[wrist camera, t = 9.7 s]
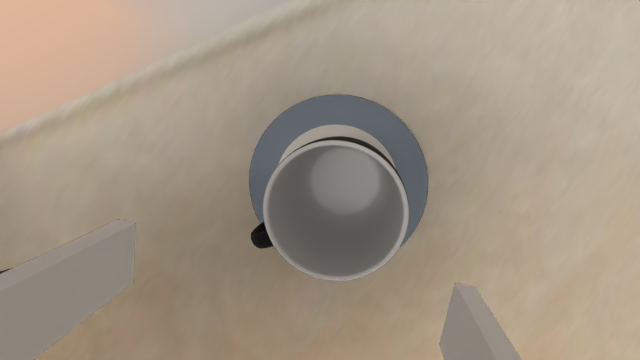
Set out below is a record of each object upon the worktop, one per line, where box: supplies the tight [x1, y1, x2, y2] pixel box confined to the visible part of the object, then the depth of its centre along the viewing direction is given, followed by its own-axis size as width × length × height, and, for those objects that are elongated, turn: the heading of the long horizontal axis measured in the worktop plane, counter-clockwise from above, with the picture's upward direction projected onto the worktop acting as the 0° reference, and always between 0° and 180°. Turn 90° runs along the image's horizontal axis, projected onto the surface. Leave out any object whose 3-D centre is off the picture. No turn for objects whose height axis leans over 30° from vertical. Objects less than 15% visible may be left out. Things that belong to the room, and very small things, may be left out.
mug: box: [251, 136, 409, 281], centre depth 27 cm, size 12×9×10 cm
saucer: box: [249, 95, 428, 248], centre depth 32 cm, size 16×16×1 cm
